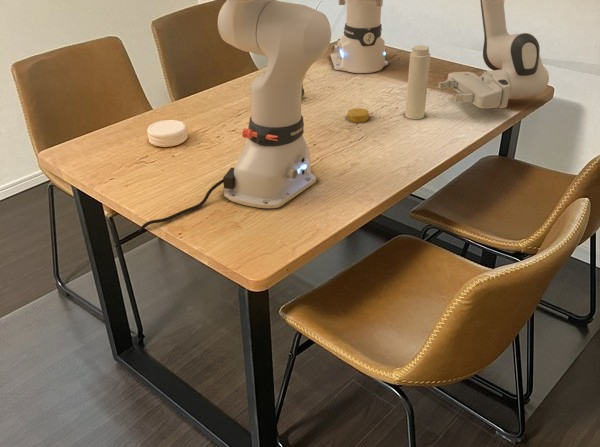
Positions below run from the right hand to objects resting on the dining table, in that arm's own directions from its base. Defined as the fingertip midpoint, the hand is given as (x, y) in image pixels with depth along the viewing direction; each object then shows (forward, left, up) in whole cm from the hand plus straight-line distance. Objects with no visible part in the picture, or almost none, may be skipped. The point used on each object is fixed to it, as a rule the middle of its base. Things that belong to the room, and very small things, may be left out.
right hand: (447, 91), depth 171 cm
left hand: (-3, -25, +24) cm, 35 cm away
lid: (-3, -25, -4) cm, 25 cm away
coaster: (-3, -77, -6) cm, 77 cm away
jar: (0, -9, -6) cm, 11 cm away
